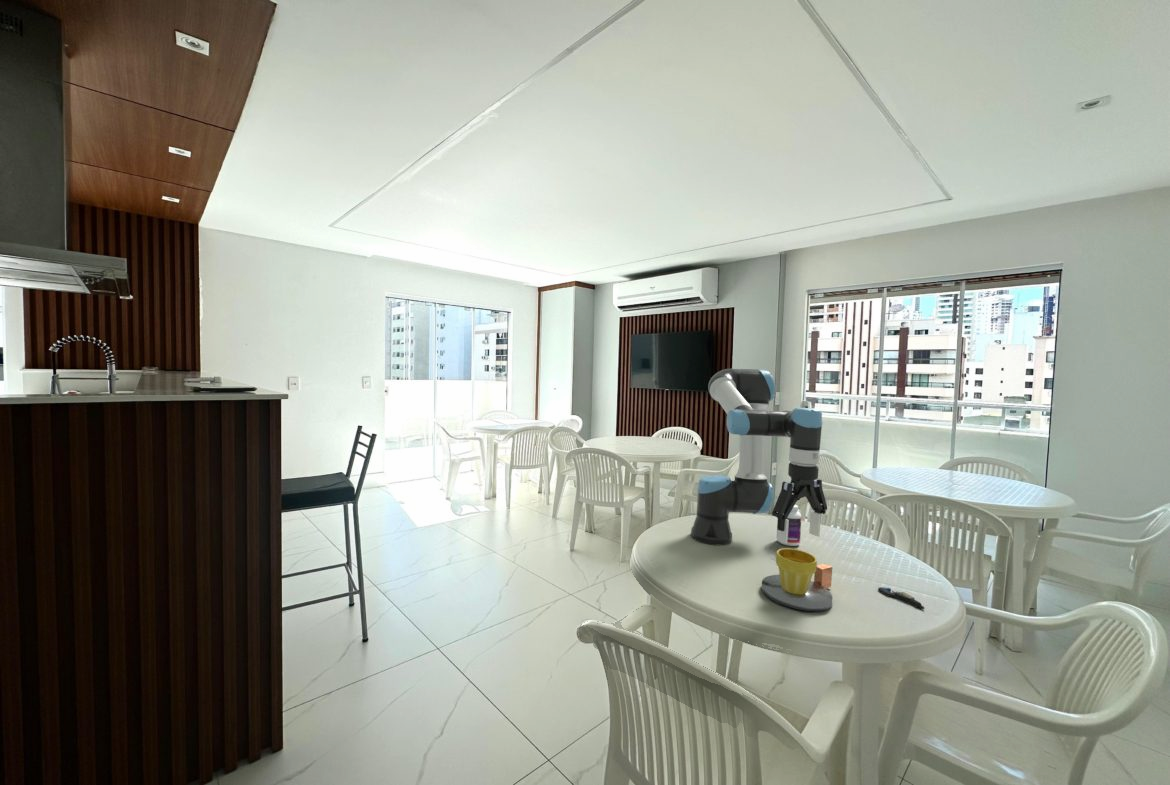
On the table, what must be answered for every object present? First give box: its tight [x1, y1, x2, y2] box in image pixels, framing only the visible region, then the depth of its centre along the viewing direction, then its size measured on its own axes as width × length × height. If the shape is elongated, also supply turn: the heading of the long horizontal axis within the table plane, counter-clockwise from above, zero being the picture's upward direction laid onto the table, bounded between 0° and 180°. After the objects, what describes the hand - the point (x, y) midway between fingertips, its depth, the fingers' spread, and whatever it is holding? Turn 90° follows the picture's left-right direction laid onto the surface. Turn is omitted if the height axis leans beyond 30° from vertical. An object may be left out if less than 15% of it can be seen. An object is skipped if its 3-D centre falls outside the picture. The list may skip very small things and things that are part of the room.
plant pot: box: [775, 547, 818, 595], centre depth 126 cm, size 10×10×10 cm
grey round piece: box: [761, 563, 833, 612], centre depth 127 cm, size 18×23×6 cm
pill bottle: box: [776, 504, 802, 547], centre depth 167 cm, size 8×8×14 cm
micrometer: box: [877, 586, 925, 610], centre depth 127 cm, size 12×2×5 cm
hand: (798, 538), depth 126 cm, fingers open, 13 cm apart
